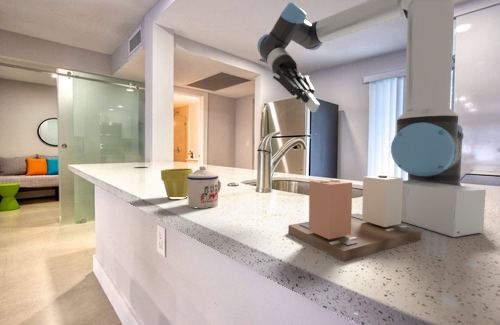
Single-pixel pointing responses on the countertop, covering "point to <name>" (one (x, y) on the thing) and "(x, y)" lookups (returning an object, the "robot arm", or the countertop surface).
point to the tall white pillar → (382, 200)
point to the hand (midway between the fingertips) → (315, 108)
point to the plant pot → (176, 181)
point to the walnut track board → (357, 238)
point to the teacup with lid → (203, 188)
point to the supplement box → (443, 207)
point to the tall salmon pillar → (330, 208)
